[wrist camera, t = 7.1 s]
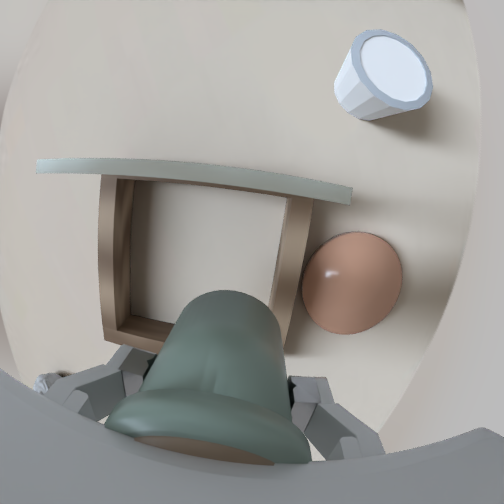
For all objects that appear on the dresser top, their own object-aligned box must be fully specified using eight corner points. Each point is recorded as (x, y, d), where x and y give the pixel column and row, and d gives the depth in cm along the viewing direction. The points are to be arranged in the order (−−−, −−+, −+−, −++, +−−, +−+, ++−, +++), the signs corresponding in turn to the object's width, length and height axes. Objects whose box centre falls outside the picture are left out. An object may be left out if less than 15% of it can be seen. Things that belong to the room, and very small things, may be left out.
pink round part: (313, 222, 23) (315, 224, 22) (408, 241, 23) (413, 243, 22) (291, 325, 26) (293, 330, 25) (381, 331, 26) (384, 336, 25)
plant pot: (171, 271, 12) (71, 387, 4) (301, 292, 12) (351, 436, 4) (169, 371, 14) (119, 491, 6) (276, 389, 14) (283, 519, 6)
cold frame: (122, 160, 22) (38, 152, 11) (308, 181, 22) (354, 179, 11) (118, 324, 26) (63, 388, 15) (275, 352, 27) (282, 440, 15)
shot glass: (406, 112, 20) (447, 95, 14) (354, 138, 21) (388, 124, 15) (368, 53, 19) (397, 22, 12) (312, 75, 20) (331, 40, 13)
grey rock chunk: (86, 391, 30) (65, 421, 23) (65, 397, 31) (45, 424, 24) (60, 358, 28) (33, 386, 22) (41, 368, 29) (18, 392, 23)
